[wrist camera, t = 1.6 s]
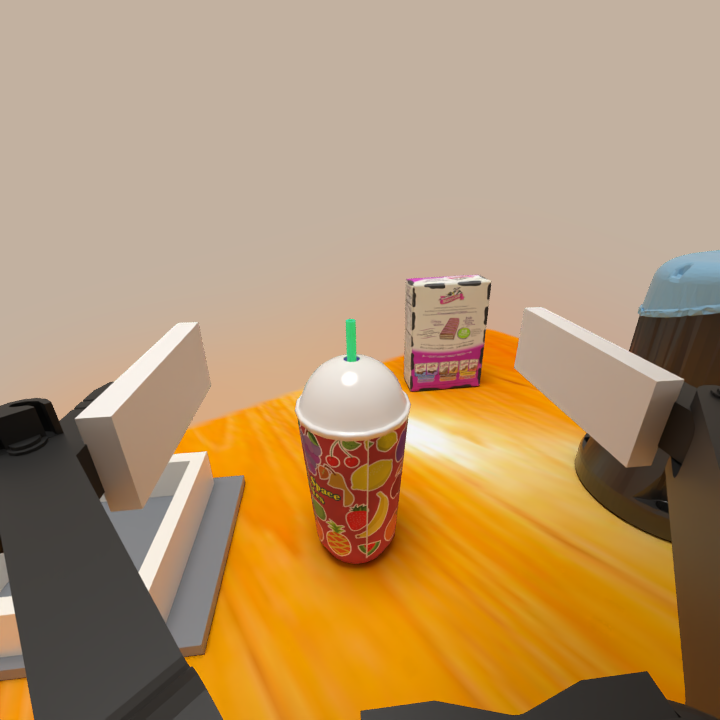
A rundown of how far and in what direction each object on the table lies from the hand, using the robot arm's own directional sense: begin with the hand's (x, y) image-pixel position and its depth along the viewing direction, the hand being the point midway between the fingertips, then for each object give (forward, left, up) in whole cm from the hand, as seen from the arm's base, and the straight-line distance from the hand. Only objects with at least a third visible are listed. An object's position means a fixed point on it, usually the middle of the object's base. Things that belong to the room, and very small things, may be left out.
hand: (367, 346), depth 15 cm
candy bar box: (-16, -37, -22) cm, 46 cm away
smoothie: (0, -10, -22) cm, 24 cm away
